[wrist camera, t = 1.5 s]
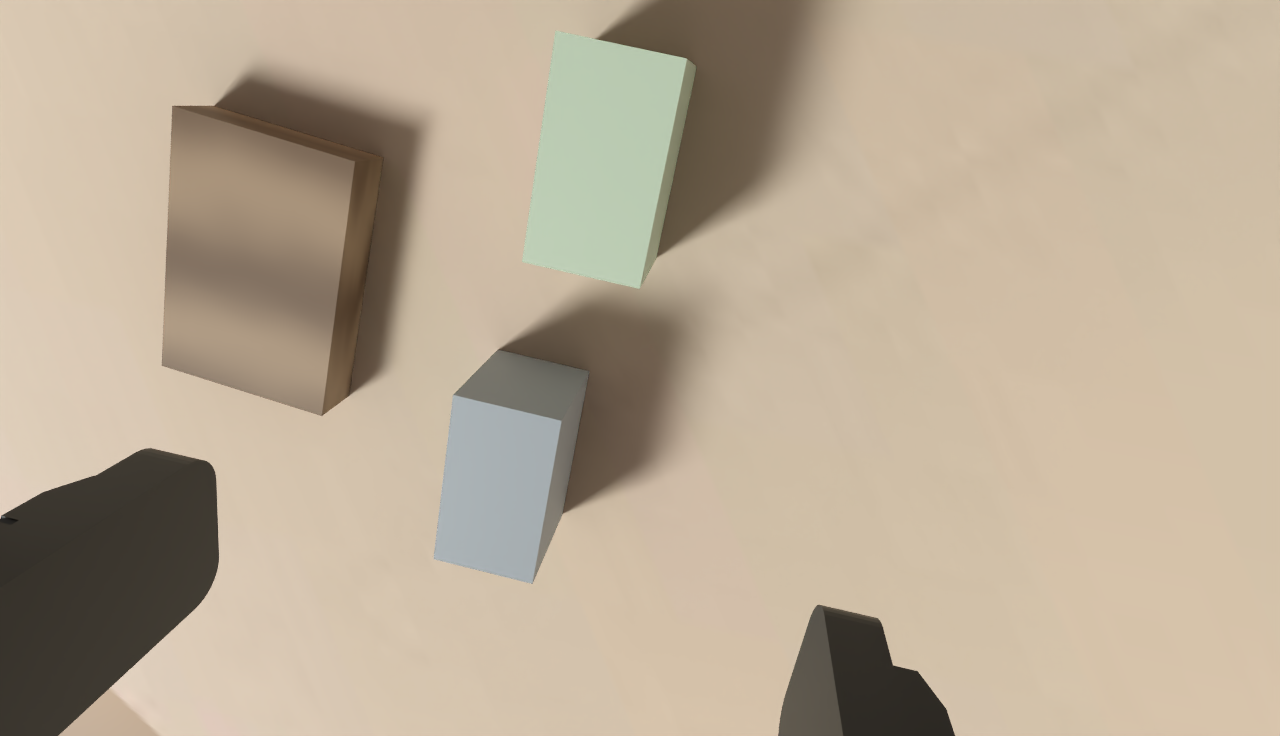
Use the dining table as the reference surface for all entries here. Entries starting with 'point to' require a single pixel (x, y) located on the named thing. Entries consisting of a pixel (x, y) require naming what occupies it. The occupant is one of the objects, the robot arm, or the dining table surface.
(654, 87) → the sage brick
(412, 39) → the dining table surface
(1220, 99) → the dining table surface
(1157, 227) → the dining table surface
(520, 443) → the slate brick
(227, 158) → the walnut brick
